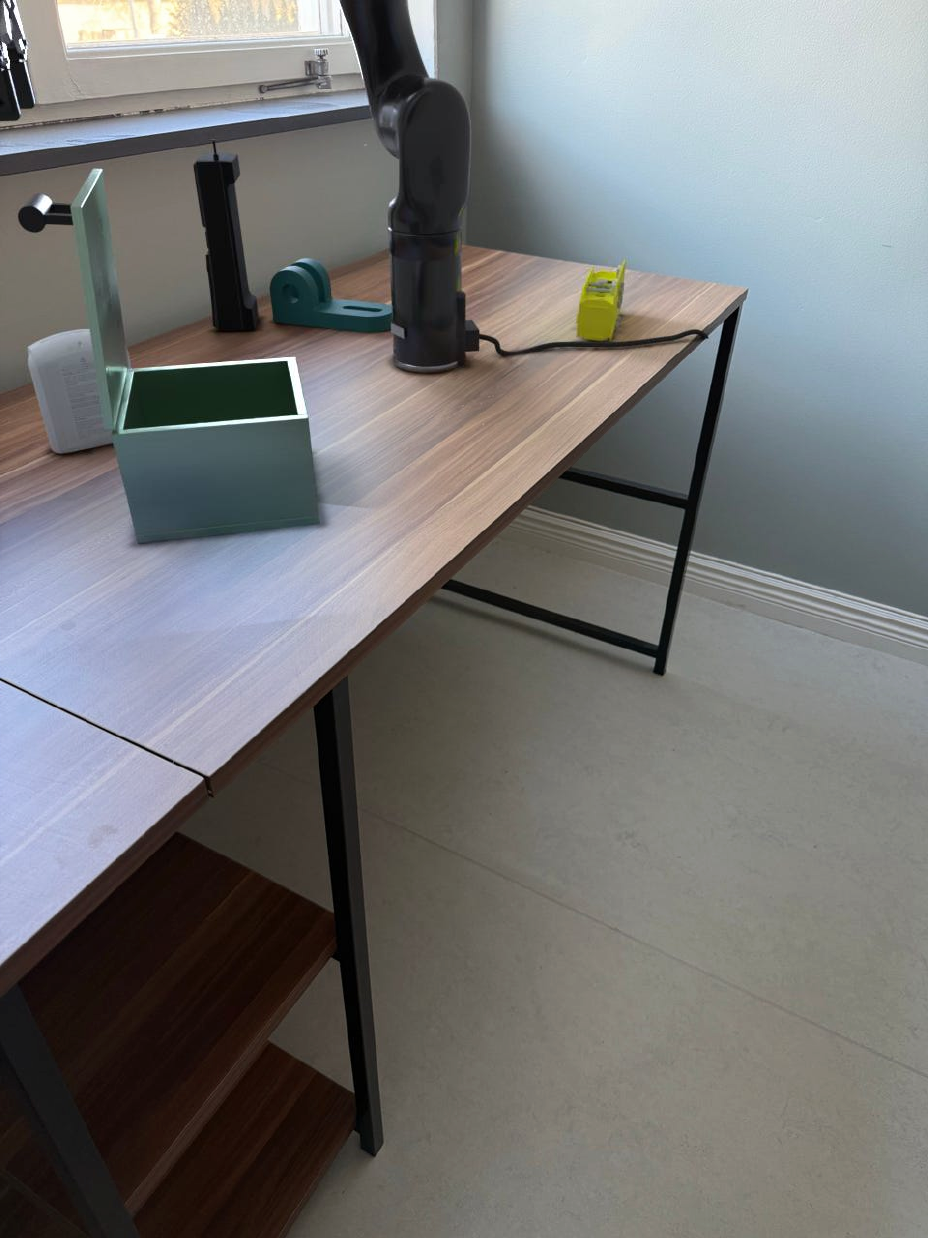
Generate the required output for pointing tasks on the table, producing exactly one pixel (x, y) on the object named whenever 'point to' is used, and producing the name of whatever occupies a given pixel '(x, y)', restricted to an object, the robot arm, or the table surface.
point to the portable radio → (224, 242)
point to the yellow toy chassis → (601, 304)
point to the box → (215, 449)
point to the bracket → (321, 301)
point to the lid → (92, 280)
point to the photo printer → (68, 391)
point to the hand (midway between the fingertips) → (16, 114)
